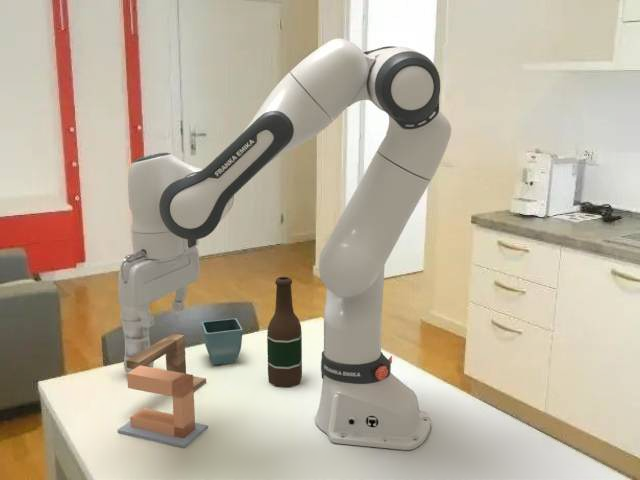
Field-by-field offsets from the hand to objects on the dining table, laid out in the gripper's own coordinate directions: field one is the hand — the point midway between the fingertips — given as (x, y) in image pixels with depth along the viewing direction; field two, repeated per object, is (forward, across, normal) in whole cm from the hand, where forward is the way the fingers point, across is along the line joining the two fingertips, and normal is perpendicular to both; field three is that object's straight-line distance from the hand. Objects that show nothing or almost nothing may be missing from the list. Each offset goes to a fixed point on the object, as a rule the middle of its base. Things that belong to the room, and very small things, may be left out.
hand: (164, 317), depth 120 cm
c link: (+22, 0, +2) cm, 22 cm away
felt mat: (+23, 0, +2) cm, 23 cm away
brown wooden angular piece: (+23, +12, +11) cm, 28 cm away
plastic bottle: (+23, +20, +23) cm, 38 cm away
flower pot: (+23, +34, +9) cm, 42 cm away
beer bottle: (+24, +29, -10) cm, 39 cm away
